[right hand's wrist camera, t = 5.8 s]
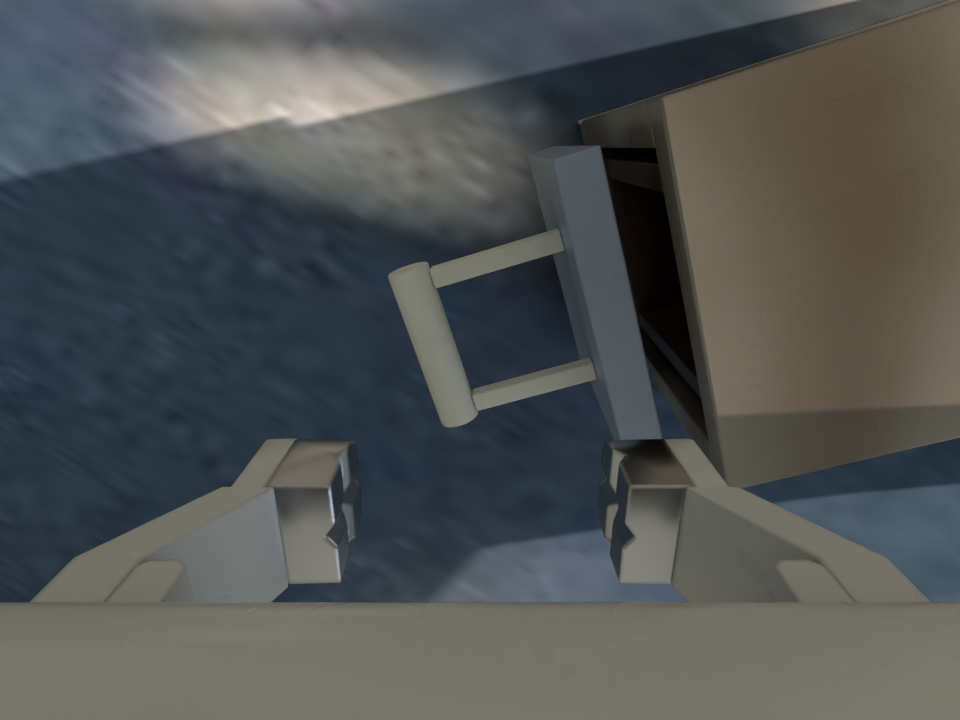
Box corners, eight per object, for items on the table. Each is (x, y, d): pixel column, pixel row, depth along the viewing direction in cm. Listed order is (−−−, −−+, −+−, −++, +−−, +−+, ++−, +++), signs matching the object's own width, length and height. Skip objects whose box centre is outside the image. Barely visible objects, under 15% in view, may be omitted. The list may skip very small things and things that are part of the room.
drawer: (467, 387, 26) (453, 517, 17) (401, 194, 23) (342, 227, 14) (1062, 225, 23) (1439, 278, 14) (1077, -23, 20) (1573, -166, 11)
